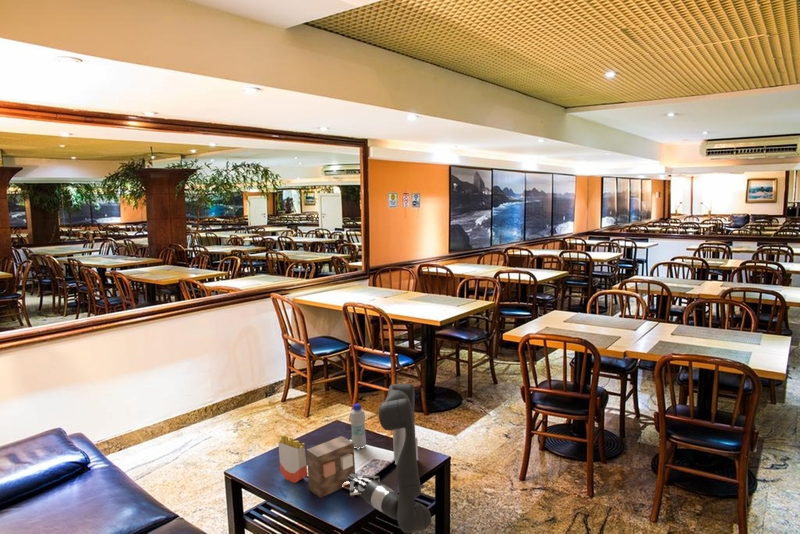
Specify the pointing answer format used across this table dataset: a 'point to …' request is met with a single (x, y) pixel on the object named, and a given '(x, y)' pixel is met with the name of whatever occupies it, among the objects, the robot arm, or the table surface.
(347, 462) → the ivory key
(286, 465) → the french fries container
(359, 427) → the bottle
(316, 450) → the key panel
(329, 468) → the terracotta key
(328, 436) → the table surface
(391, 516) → the robot arm
